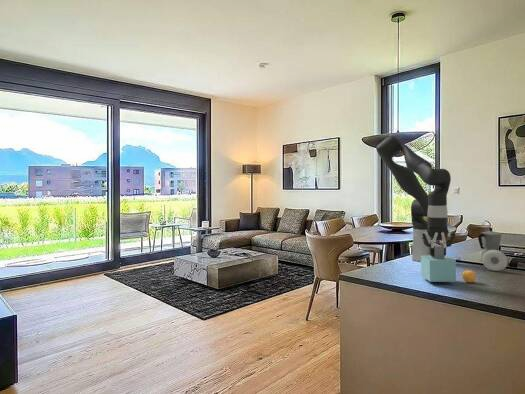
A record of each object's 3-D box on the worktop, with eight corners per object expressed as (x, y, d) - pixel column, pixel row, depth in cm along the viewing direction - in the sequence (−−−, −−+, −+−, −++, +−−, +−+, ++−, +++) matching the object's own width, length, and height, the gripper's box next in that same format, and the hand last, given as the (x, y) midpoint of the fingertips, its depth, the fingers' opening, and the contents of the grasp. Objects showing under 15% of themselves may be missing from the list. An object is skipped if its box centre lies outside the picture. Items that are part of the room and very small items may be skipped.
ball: (480, 279, 145) (470, 286, 145) (471, 272, 149) (461, 279, 150) (476, 272, 143) (466, 280, 143) (467, 265, 147) (457, 273, 148)
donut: (507, 271, 162) (507, 250, 161) (507, 273, 159) (507, 251, 159) (482, 268, 168) (482, 248, 168) (481, 270, 166) (481, 249, 165)
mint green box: (429, 281, 143) (429, 248, 143) (421, 275, 153) (420, 244, 153) (455, 281, 142) (455, 248, 142) (445, 275, 152) (445, 243, 152)
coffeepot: (491, 259, 189) (491, 226, 188) (508, 262, 180) (508, 227, 179) (470, 261, 183) (470, 227, 183) (487, 265, 175) (487, 229, 174)
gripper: (423, 217, 144) (423, 258, 145) (459, 216, 143) (459, 258, 143) (417, 215, 151) (417, 254, 152) (451, 215, 150) (451, 254, 151)
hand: (437, 256), depth 148 cm, fingers closed on mint green box, 3 cm apart
